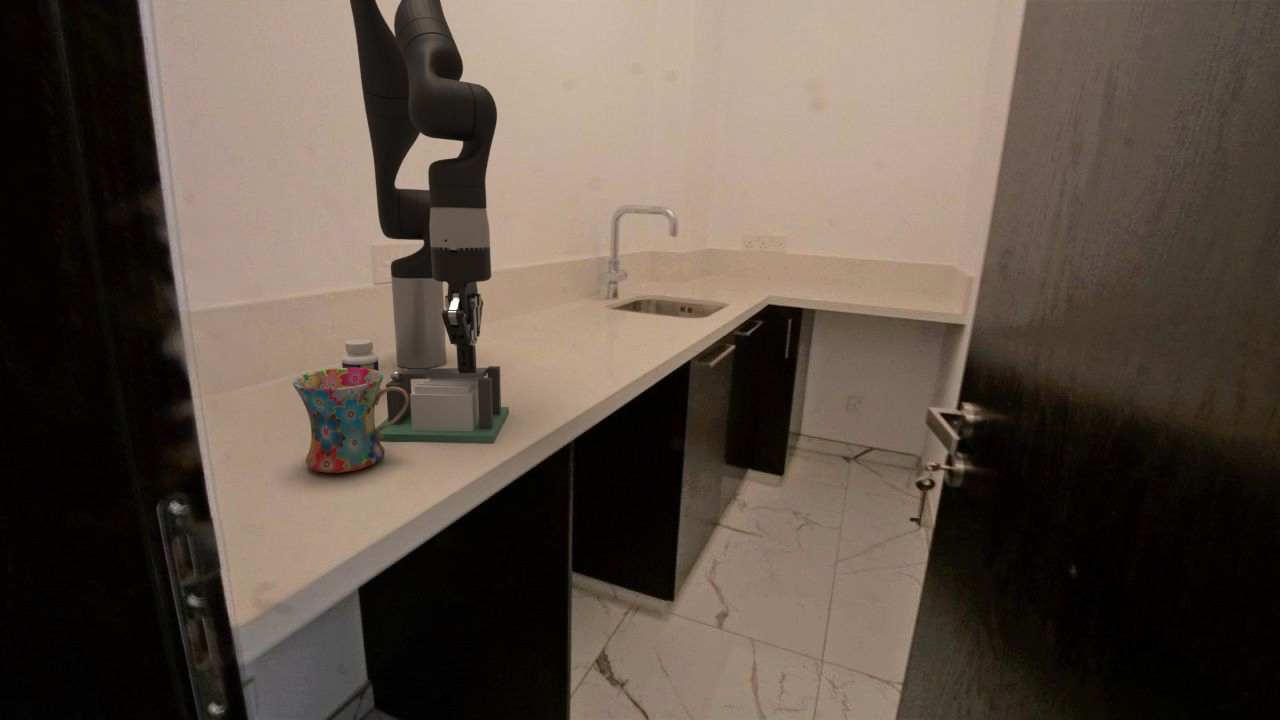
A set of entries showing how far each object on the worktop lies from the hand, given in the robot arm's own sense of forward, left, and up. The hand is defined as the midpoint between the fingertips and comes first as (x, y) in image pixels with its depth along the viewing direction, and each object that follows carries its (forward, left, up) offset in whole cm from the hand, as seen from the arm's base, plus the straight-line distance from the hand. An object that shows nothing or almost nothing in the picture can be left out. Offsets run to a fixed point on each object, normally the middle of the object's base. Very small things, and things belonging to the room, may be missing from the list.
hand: (467, 371), depth 81 cm
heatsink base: (0, -4, -8) cm, 9 cm away
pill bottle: (-14, -21, -8) cm, 26 cm away
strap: (0, -4, -1) cm, 4 cm away
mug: (+12, -10, -8) cm, 18 cm away
